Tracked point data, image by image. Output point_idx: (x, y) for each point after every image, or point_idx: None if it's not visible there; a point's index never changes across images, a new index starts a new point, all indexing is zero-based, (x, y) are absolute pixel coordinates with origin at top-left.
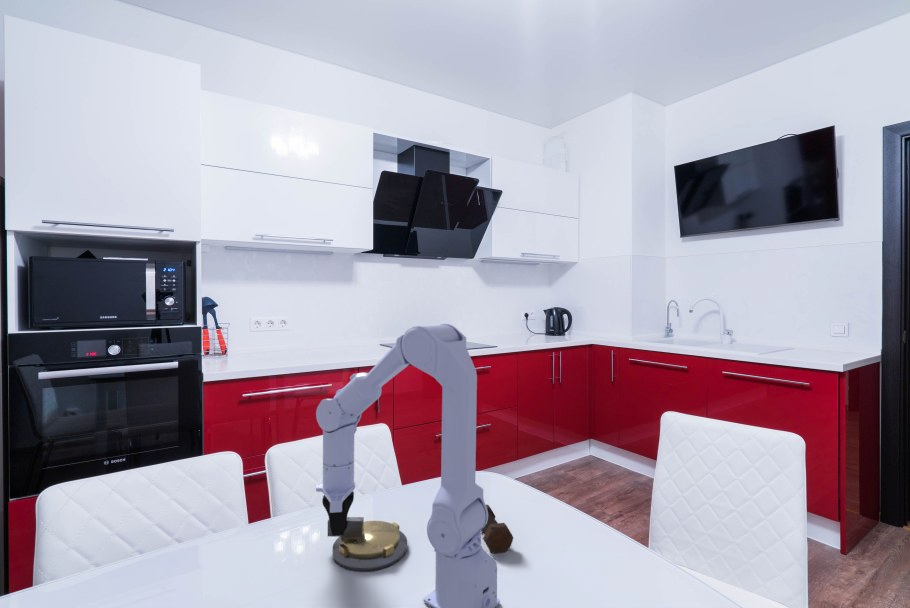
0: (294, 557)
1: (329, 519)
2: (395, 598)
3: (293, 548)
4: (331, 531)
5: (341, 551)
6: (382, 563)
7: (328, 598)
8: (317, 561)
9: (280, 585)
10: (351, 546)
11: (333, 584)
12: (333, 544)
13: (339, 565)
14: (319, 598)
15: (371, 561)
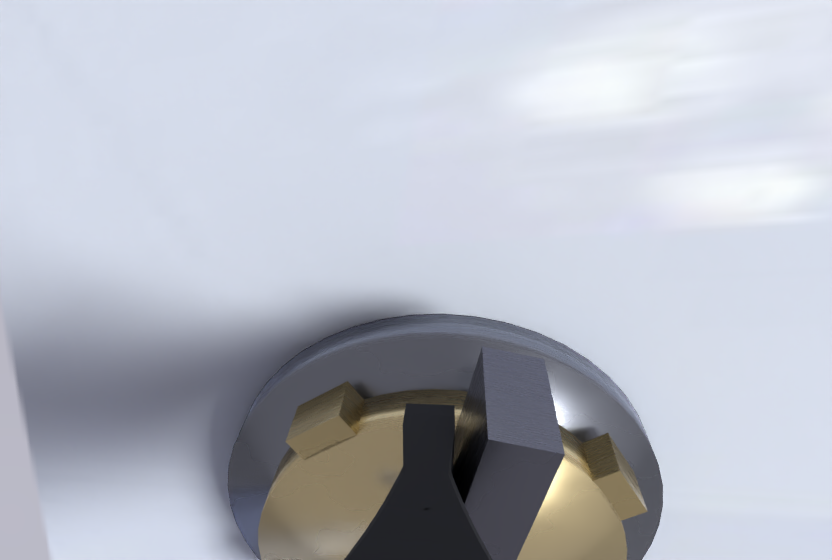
0: (457, 62)
1: (386, 497)
2: (58, 534)
3: (603, 32)
4: (403, 421)
5: (319, 407)
6: (250, 539)
7: (17, 307)
8: (373, 231)
9: (102, 12)
10: (313, 475)
11: (134, 326)
12: (483, 342)
13: (299, 354)
14: (9, 266)
15: (260, 507)
